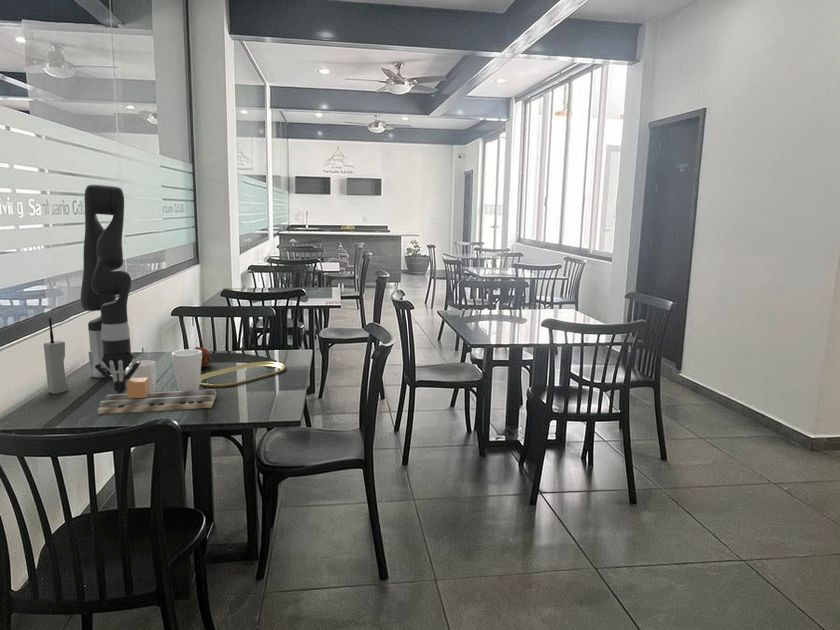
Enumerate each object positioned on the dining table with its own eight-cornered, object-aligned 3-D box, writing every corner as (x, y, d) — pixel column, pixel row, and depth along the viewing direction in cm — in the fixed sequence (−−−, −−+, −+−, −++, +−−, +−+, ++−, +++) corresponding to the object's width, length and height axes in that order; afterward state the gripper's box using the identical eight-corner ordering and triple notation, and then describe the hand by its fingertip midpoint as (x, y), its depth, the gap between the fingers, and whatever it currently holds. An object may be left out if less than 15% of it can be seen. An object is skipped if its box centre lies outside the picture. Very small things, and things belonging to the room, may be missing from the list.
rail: (98, 414, 178) (97, 404, 177) (110, 401, 189) (109, 392, 189) (211, 407, 184) (211, 398, 183) (216, 396, 196) (216, 387, 195)
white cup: (147, 396, 195) (145, 366, 193) (126, 395, 196) (123, 365, 195) (162, 389, 203) (160, 360, 201) (141, 388, 204) (139, 359, 202)
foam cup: (179, 386, 207) (177, 349, 204) (207, 385, 207) (204, 349, 205) (170, 394, 197) (167, 355, 195) (198, 393, 198) (196, 355, 196)
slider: (128, 403, 182) (126, 382, 181) (132, 398, 187) (131, 378, 186) (146, 402, 183) (144, 381, 182) (150, 397, 188) (148, 377, 187)
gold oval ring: (184, 383, 212) (184, 378, 212) (262, 363, 240) (262, 359, 240) (218, 392, 201) (218, 387, 201) (295, 370, 230) (295, 366, 230)
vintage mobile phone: (69, 390, 201) (62, 317, 197) (53, 394, 197) (46, 319, 193) (64, 388, 203) (57, 316, 199) (48, 392, 199) (40, 318, 195)
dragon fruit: (205, 374, 228) (190, 373, 236) (220, 358, 233) (205, 357, 241) (189, 358, 224) (176, 358, 232) (205, 342, 228) (191, 342, 237)
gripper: (142, 334, 186) (146, 388, 188) (96, 335, 183) (101, 390, 186) (136, 338, 178) (140, 395, 181) (87, 340, 176) (92, 397, 179)
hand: (120, 392), depth 184 cm, fingers closed
